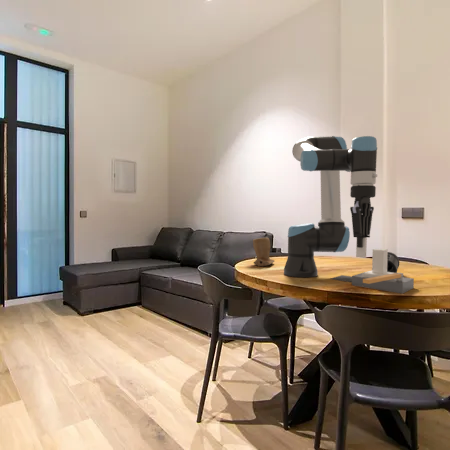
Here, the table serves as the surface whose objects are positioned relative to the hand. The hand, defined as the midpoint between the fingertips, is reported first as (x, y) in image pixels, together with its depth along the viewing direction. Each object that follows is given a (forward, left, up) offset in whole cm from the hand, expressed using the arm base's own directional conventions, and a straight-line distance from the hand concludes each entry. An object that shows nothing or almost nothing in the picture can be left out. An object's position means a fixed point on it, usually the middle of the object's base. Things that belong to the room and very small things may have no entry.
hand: (361, 257), depth 105 cm
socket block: (-1, +21, -14) cm, 25 cm away
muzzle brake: (-7, +42, -14) cm, 45 cm away
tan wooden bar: (+4, +9, -8) cm, 13 cm away
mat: (-16, +25, -14) cm, 33 cm away
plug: (-2, +21, -13) cm, 25 cm away
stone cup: (-67, +30, -14) cm, 75 cm away
